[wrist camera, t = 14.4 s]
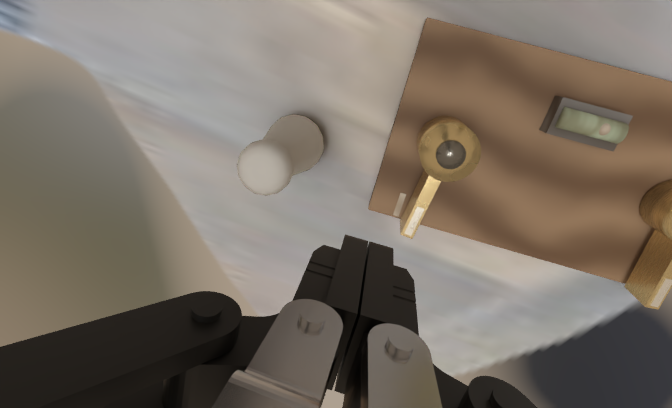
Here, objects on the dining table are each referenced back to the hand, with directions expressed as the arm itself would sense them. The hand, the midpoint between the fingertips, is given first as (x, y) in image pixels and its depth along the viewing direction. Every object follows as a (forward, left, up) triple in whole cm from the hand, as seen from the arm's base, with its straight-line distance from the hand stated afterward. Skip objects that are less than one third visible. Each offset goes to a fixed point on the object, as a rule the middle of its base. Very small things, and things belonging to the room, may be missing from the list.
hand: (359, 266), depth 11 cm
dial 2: (+3, +28, -27) cm, 39 cm away
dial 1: (+3, +6, -27) cm, 28 cm away
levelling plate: (0, +16, -29) cm, 33 cm away
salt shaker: (+4, -8, -29) cm, 31 cm away
